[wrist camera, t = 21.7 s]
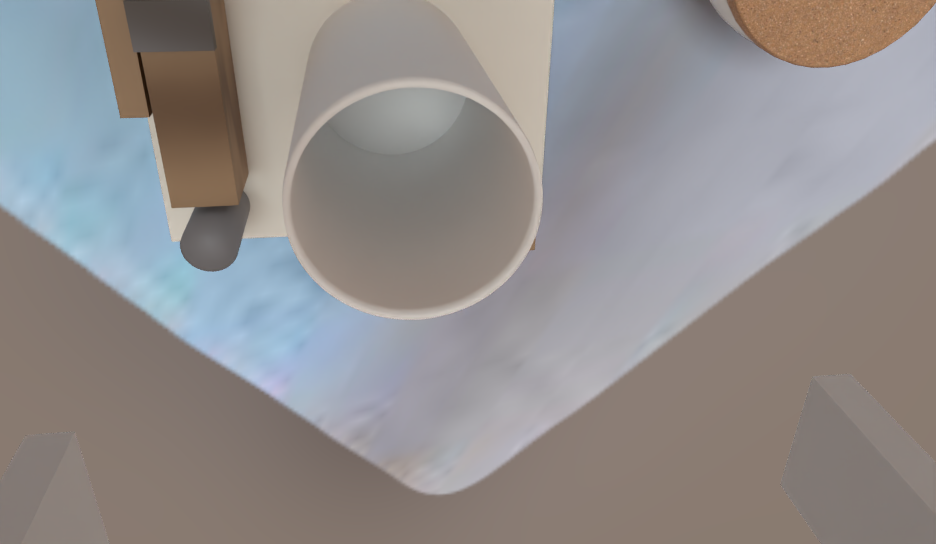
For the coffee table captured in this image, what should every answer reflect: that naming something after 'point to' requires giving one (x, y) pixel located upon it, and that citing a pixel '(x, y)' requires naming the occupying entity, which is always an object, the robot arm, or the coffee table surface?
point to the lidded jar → (822, 27)
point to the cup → (406, 166)
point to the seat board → (279, 89)
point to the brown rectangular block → (192, 98)
